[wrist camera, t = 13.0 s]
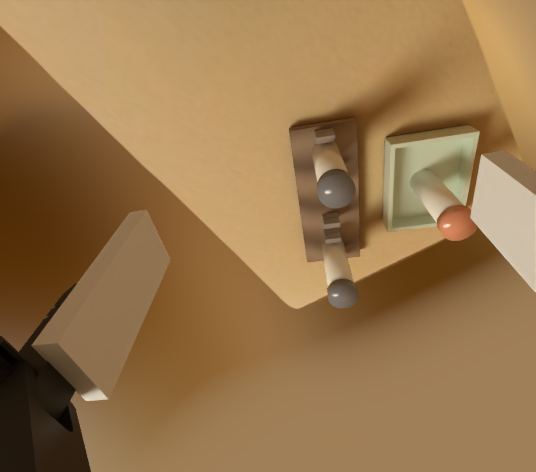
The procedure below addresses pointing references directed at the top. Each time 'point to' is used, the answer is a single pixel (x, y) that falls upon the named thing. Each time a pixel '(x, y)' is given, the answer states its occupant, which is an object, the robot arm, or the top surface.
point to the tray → (425, 157)
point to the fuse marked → (443, 206)
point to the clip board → (312, 210)
